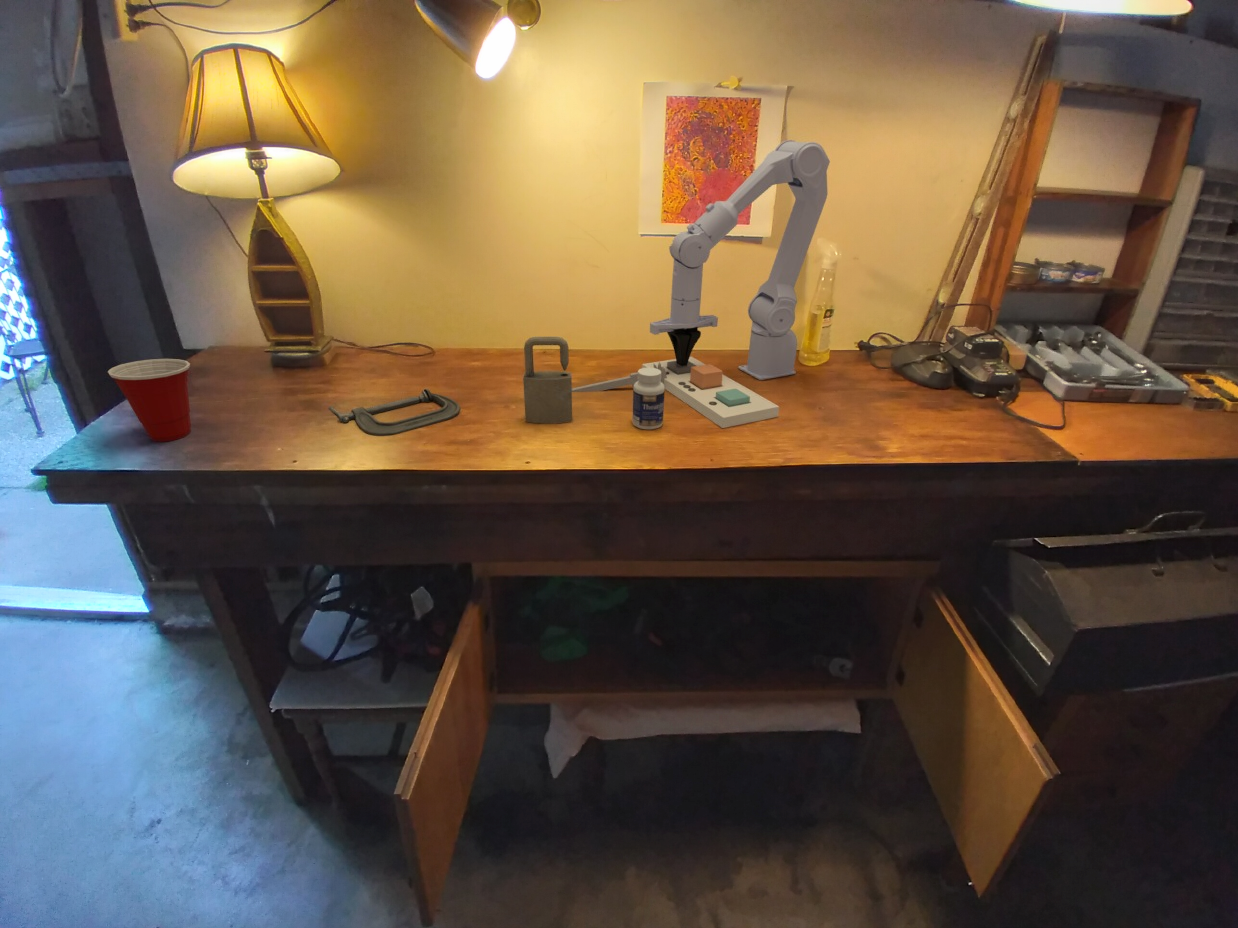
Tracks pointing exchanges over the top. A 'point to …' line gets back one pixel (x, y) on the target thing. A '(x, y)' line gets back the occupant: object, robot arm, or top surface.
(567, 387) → the padlock
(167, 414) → the plastic cup
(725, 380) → the button panel
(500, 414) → the top surface
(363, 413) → the c clamp
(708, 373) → the button three
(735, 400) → the button one
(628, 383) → the caliper
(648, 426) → the pill bottle
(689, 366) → the button two
